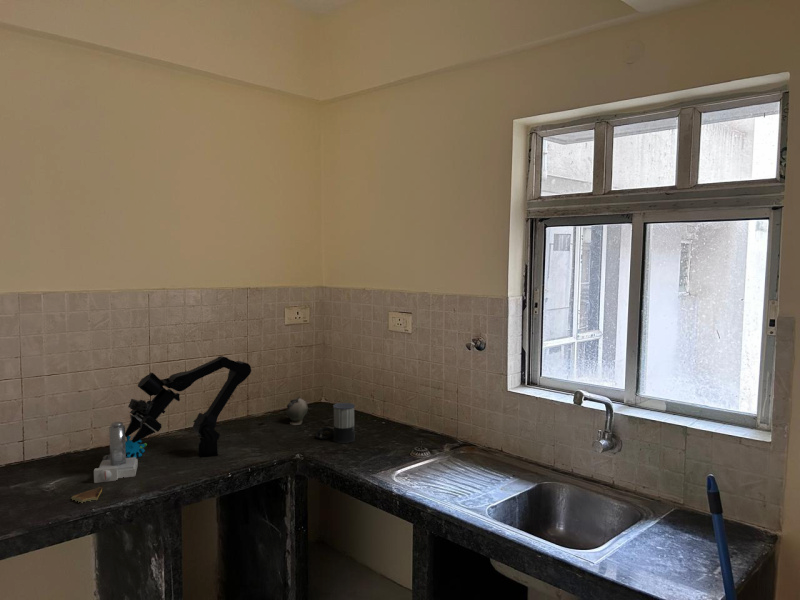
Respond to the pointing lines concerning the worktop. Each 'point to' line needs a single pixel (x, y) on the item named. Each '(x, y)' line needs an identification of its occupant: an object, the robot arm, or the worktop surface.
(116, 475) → the kitchen scale
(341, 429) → the milk frother
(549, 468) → the worktop surface
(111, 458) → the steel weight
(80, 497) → the shard
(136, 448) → the gear
